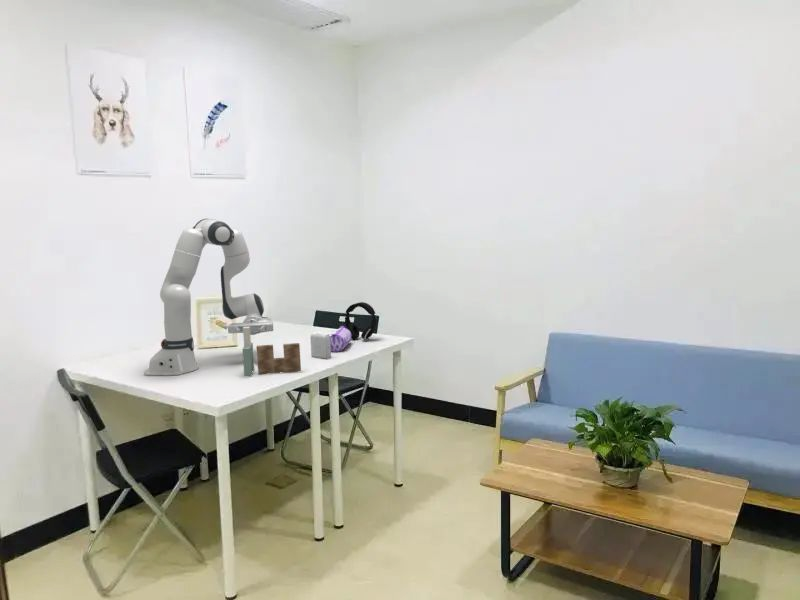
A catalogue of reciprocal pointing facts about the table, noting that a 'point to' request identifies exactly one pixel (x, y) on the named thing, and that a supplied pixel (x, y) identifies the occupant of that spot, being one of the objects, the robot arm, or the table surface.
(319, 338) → the photo printer
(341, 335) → the pencil case
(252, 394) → the table surface
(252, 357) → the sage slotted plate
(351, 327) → the headphones
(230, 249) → the robot arm
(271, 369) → the walnut slotted board
